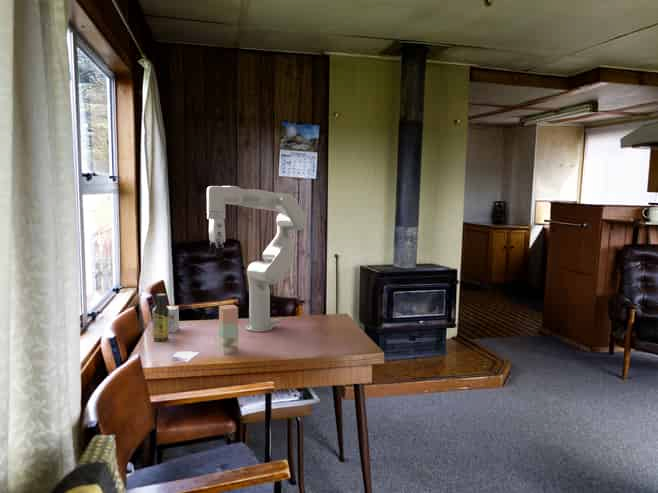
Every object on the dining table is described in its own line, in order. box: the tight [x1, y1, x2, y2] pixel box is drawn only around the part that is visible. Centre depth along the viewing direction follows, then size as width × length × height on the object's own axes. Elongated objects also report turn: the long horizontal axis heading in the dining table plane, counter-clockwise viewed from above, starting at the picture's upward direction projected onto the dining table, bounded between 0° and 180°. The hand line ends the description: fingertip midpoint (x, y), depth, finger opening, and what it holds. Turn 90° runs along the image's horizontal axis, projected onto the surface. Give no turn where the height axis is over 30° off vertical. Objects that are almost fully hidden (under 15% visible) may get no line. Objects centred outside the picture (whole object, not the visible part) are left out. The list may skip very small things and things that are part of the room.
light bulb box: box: [151, 305, 180, 333], centre depth 225 cm, size 11×7×11 cm, turn 95°
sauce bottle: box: [152, 293, 170, 342], centre depth 210 cm, size 6×6×20 cm
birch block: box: [218, 335, 239, 355], centre depth 198 cm, size 6×6×6 cm
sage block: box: [218, 320, 239, 339], centre depth 197 cm, size 6×6×6 cm
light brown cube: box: [218, 304, 239, 324], centre depth 197 cm, size 6×6×6 cm
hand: (216, 255), depth 210 cm, fingers open, 9 cm apart
